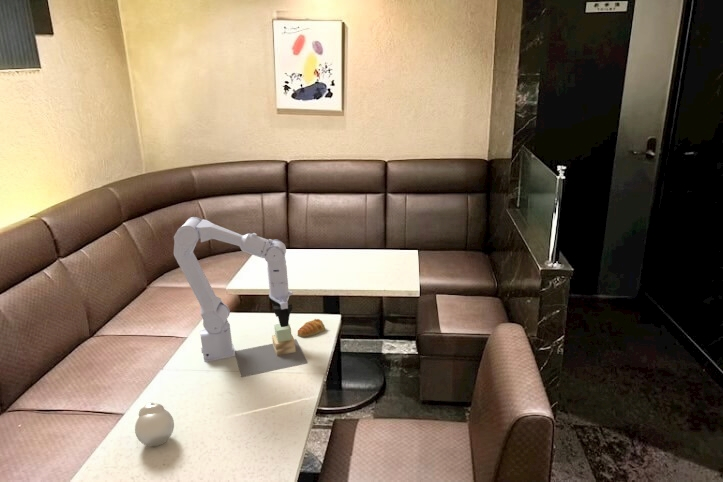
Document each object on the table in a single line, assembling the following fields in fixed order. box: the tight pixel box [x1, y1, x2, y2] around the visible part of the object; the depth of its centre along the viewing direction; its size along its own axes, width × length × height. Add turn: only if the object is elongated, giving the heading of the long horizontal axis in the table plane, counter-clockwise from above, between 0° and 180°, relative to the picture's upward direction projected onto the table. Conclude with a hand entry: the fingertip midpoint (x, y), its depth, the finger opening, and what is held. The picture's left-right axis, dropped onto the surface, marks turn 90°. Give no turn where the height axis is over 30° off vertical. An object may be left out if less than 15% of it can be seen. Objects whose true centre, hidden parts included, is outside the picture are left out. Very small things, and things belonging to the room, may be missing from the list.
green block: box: [273, 322, 293, 342], centre depth 169 cm, size 4×4×4 cm
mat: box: [234, 338, 309, 378], centre depth 167 cm, size 20×16×1 cm
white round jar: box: [134, 402, 175, 447], centre depth 130 cm, size 9×10×10 cm
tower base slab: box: [272, 342, 296, 356], centre depth 171 cm, size 6×6×2 cm
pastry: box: [297, 318, 326, 338], centre depth 181 cm, size 9×7×4 cm
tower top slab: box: [271, 333, 295, 350], centre depth 170 cm, size 6×6×2 cm
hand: (281, 320), depth 168 cm, fingers open, 7 cm apart
